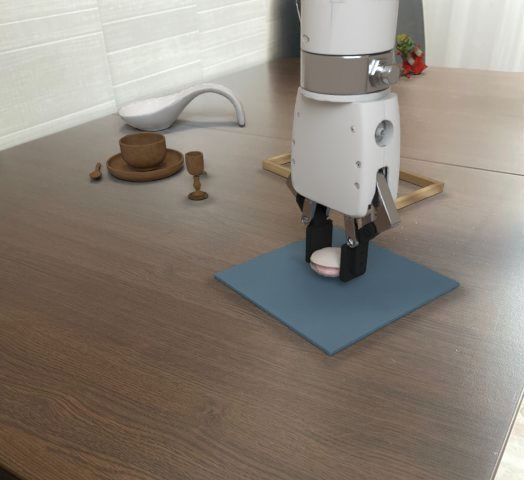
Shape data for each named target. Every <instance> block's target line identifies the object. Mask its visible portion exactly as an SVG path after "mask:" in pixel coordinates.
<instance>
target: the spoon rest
mask: <svg viewBox="0 0 524 480" xmlns="http://www.w3.org/2000/svg"><path fill="white" fill-rule="evenodd" d="M207 93H211V94H212V93H213V94H217V95H220V96H222V97H224V98H226V99H227V101H229V102H230V103H231V105H232V106H233V108H234V110H235V113H236V117H237V119H236V120H237V123H238V125H239V126H244V125H245V123H246V114H245V113H246V112H245V109H244V105H243V102H242V100H241V99H240V97H239V96H238V94H237V93H236V92H235V91H234V90H232V89H231V88H229V87H227V86H226V85H223V84H219V83H215V82H202V83H197V84H195V85H192V86H189V87H187V88H185V89H183V90H180V91H178V92H174V93H171V94H167V95H163V96H157V97H152V98H147V99H141V100H137V101H134V102H133V101H132V102H130V103H128V104H126V105H124V106H122V107H120V108H119V110H118V111H117V114H118V117H120V119H121V120H122V121H123V122H124V123H126V124H127V125H129V126H131V127H132V128H135V129H138V130H139V131H143V132H155V131H163V130H166V129H169V128H170V127H171V126H172V124H174V122H175V121H176V120H177V119H178V118H179V116H180V115H181V114H182V113H183V111H184V110H185V109H186V107H187V106H188V105H190V103H191V102H192V101H193V100H194V99H195V98H197V97H198V96H200V95H203V94H207Z"/></svg>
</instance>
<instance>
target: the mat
mask: <svg viewBox="0 0 524 480" xmlns="http://www.w3.org/2000/svg"><path fill="white" fill-rule="evenodd" d="M345 243H347V242H346V232H345V229H343V228H341V227H339V226H337V225H334V226H333V233H332V247H336V248H341V246H342V245H343V244H345ZM305 255H306V237H305V238H302V239H299V240H296V241H294V242H291V243H289V244H286V245H283V246H281V247H279V248H276V249H273V250H272V251H271V250H270V251H268V252H266V253H264V254H261V255H259V256H256V257H253V258H251V259H248V260H246V261H244V262H241V263H238V264H236V265H233V266H231V267H228V268H226V269H223V270H220V271H217V272H215V273H214V274H213V278H215V279H216V280H218V281H219V282H221V283H222V284H224V285H225V286H226V287H228V288H229V289H230V290H232V291H233V292H235V293H237V294H239V295H240V296H241V297H243V298H244V299H245V300H247V301H248V302H250V303H251V304H253V305H254V306H256V307H257V308H259V309H260V310H262V311H264V312H265V313H266V314H268V315H269V316H271V317H272V318H274V319H275V320H277V321H278V322H279V323H281V324H283V325H284V326H285V327H287V328H288V329H290V330H291V331H292V332H295V334H297V335H298V336H300V337H302V338H303V339H305V340H306V341H308V342H309V343H311V344H312V345H313V346H315V347H316V348H318V349H319V350H321V351H322V352H323V353H325V354H327V355H328V356H330V357H332V356H333V355H335V354H336V353H339V352H340V351H342V350H344V349H346V348H348V347H350V346H352V345H353V344H355V343H357V342H359V341H361V340H362V339H364V338H366V337H368V336H370V335H372V334H374V333H375V332H377V331H379V330H381V329H383V328H384V327H386V326H388V325H390V324H392V323H394V322H396V321H397V320H399V319H401V318H403V317H405V316H407V315H408V314H410V313H412V312H414V311H415V310H417V309H419V308H422V307H423V306H425V305H427V304H428V303H431V302H433V301H434V300H436V299H437V298H439V297H441V296H443V295H445V294H447V293H449V292H450V291H452V290H454V289H457V288H458V287H459V286H460V282H459V281H457V280H455V279H453V278H450V277H449V276H447V275H444V274H442V273H439V272H438V271H435V270H433V269H431V268H429V267H426V266H424V265H422V264H420V263H418V262H416V261H413V260H412V259H409V258H407V257H405V256H402V255H400V254H398V253H396V252H394V251H391V250H389V249H387V248H386V247H383V246H380V245H379V244H376V243H374V242H372V241H371V240H370V241H369V246H368V257H367V267H366V272H365V273H364V274H363V275H361V276H359V277H357V278H355V279H352V280H350V281H348V282H346V283H344V282H342V281H341V280H340V278H339V276H338V277H325V276H323V275H319V274H318V273H317V272H316V271H314V270H313V269H312V268H311V265H310V264H309V263H307V262H306V260H305Z"/></svg>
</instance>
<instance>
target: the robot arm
mask: <svg viewBox="0 0 524 480" xmlns="http://www.w3.org/2000/svg"><path fill="white" fill-rule="evenodd" d="M399 6H400V0H300V69H299V70H300V74H299V75H300V76H299V79H300V80H299V81H300V83H299V87H298V88H297V94H296V99H295V104H294V111H293V120H292V128H291V129H292V131H291V145H290V152H291V162H290V169H291V173H290V174H289V176H288V178H286V180H285V183H286V186H287V188H288V189H289V191H290V192H291V193H292V195H293V196H294V198H295V202H296V203H297V206H298V208H299V210H300V212H301V223H302V225H303V226H305V238H306V255H305V260H306V262H307V263H309V264H310V262H311V260H310V258H311V255H312V254H313V253H314V252H315V251H317V250H321V249H323V248H327V247H332V233H333V227H334V223H333V222H334V221H333V219H331V218H329V216H330V212H331V210H333V211H336V212H338V213H341V214H343V221H344V222H343V223H344V230H345V232H346V242H347V243H345V244H343V245H342V246H341V257H340V274H339V278H340V280H341V281H342V282H344V283H346V282H348V281H350V280H352V279H355V278H357V277H359V276H361V275H363V274H364V273H365V272H366V267H367V257H368V246H369V241H370V242H371V241H372V240H374V239H375V238H376V237H378V236H379V235H380V234H381V233H383V232H386V231H388V230H391V229H393V228H395V227H398V226H399V225H400V224H401V217H400V214H399V211H398V210H397V209H396V206H395V202H396V198H398V191H399V184H400V183H399V181H400V179H399V169H401V168H400V167H401V143H402V142H401V138H402V137H401V117H400V105H399V97H398V94H397V93H396V92H392V91H391V86H392V85H393V86H394V85H395V84H397V82H398V81H399V79H400V75H401V69H400V67H399V66H398V65H394V55H395V47H396V37H397V27H398V17H399ZM374 207H375V210H376V213H377V215H376V218H375V214H374ZM359 219H360V220H361V227H360V228H359V221H358V220H359Z"/></svg>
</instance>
